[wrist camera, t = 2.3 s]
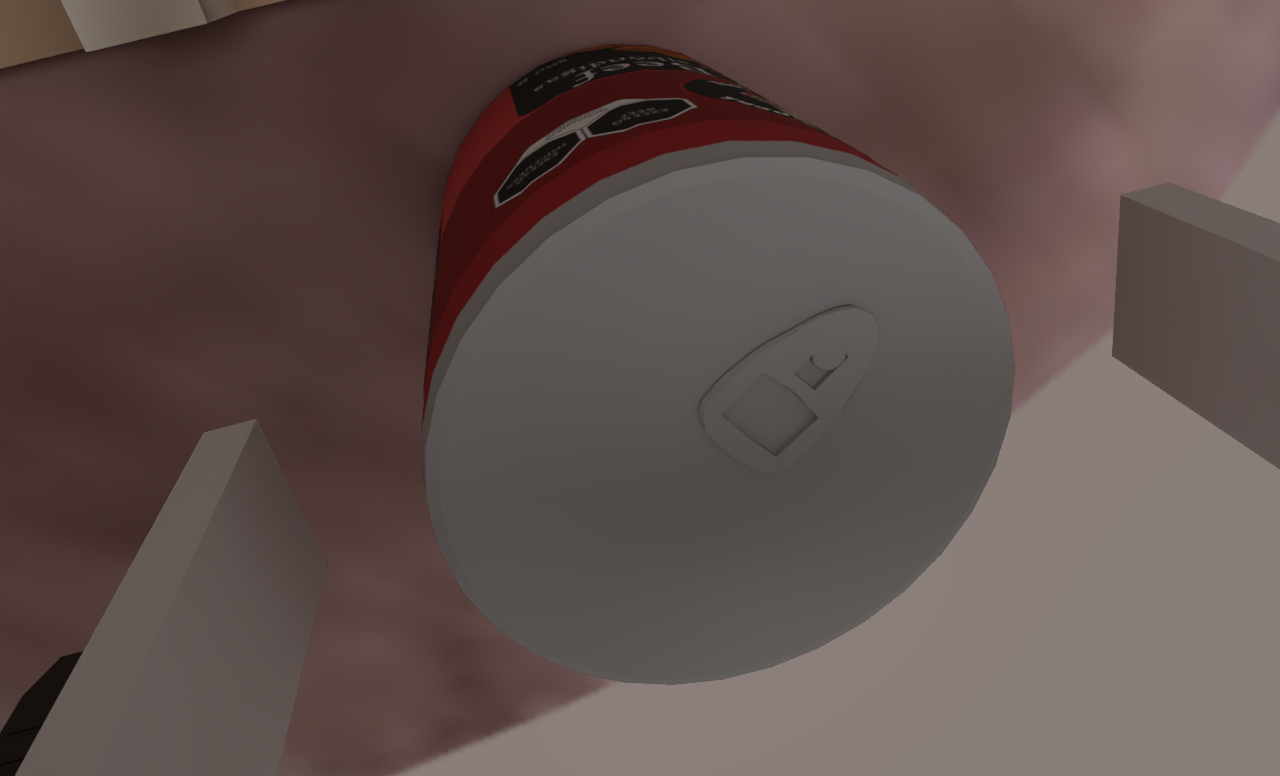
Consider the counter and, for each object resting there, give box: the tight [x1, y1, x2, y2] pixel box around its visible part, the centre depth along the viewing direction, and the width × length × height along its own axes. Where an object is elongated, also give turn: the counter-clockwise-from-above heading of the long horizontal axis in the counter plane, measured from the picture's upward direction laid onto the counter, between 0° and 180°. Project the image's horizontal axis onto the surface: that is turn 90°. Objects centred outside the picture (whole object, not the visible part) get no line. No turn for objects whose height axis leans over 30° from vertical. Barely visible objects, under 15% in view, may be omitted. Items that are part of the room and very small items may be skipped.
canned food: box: [422, 44, 1015, 685], centre depth 16 cm, size 8×8×11 cm
